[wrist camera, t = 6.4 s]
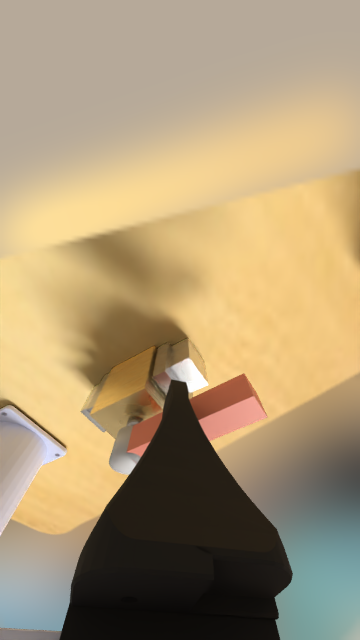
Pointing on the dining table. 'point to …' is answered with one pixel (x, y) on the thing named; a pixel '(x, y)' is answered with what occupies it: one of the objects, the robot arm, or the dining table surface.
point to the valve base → (143, 385)
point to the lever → (212, 413)
